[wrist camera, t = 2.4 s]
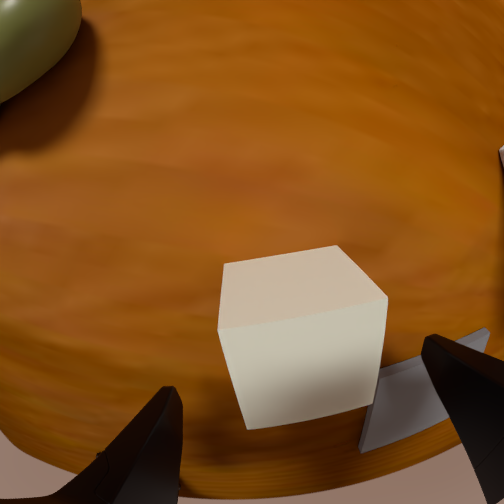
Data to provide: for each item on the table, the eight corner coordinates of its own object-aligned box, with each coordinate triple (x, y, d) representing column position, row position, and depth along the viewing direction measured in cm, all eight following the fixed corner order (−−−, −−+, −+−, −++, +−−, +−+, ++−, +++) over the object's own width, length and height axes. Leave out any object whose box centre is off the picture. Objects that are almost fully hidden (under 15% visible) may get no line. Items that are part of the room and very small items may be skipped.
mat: (358, 446, 18) (360, 453, 18) (374, 370, 15) (379, 378, 14) (450, 409, 18) (454, 414, 18) (484, 327, 15) (490, 332, 14)
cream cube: (243, 351, 14) (247, 429, 9) (224, 263, 12) (217, 330, 8) (338, 334, 14) (372, 403, 9) (336, 244, 12) (388, 297, 8)
